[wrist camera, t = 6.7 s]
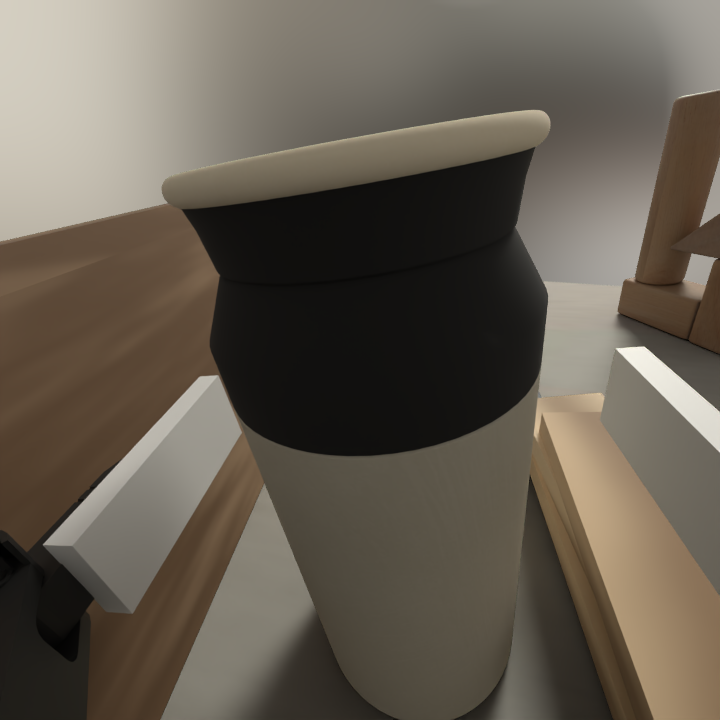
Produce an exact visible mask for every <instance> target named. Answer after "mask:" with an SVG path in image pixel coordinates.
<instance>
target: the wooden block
mask: <svg viewBox="0 0 720 720" xmlns="http://www.w3.org/2000/svg"><path fill="white" fill-rule="evenodd" d="M719 157H720V89H719V90H714V91H708V92H703V93H698V94H693V95H687V96H682V97H679V98H677V99H676V100H675V102H674V104H673V108H672V113H671V117H670V121H669V126H668V130H667V135H666V139H665V144H664V149H663V153H662V158H661V162H660V166H659V171H658V176H657V180H656V185H655V189H654V194H653V198H652V203H651V207H650V211H649V216H648V220H647V225H646V229H645V234H644V238H643V243H642V247H641V252H640V256H639V261H638V265H637V270H636V274H635V277H634V278H629V279H626V280H625V281H624V282H623V287H622V292H621V296H620V301H619V306H618V312H619V313H620V314H623V315H625V316H628V317H630V318H633V319H635V320H638V321H640V322H643V323H645V324H648V325H650V326H653V327H655V328H658V329H660V330H663V331H665V332H668V333H670V334H673V335H675V336H677V337H680V338H682V339H689V341H690V342H691V343H693V344H696V345H698V346H701V347H703V348H706V349H708V350H711V351H713V352H716V353H718V354H720V214H718V215H717V216H716V217H714V218H713V219H711V220H710V221H708V222H707V223H705V224H704V225H702V226H701V227H699V226H700V222H701V219H702V216H703V212H704V209H705V206H706V202H707V198H708V195H709V192H710V188H711V185H712V182H713V178H714V175H715V171H716V168H717V164H718V161H719ZM692 253H693V254H698V255H704V256H709V257H714V258H718V259H716V260H715V262H714V263H713V266H712V269H711V273H710V275H709V279H708V281H707V285H706V286H704V285H701V284H697V283H693V282H689V281H685V280H683V279H684V277H685V274H686V271H687V267H688V263H689V260H690V257H691V254H692Z"/></svg>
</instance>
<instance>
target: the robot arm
mask: <svg viewBox="0 0 720 720" xmlns="http://www.w3.org/2000/svg"><path fill="white" fill-rule="evenodd" d="M600 421H601V423H602V424H603V426H604V427H605V429H606V430H607V432H608V433H609V434H610V436H611V437H612V439H613V440H614V442H615V443H616V445H617V446H618V448H619V449H620V451H621V452H622V454H623V455H624V456H625V458H626V459H627V461H628V462H629V464H630V465H631V467H632V468H633V470H634V471H635V473H636V474H637V476H638V477H639V479H640V480H641V481H642V483H643V484H644V486H645V487H646V489H647V490H648V492H649V493H650V495H651V496H652V498H653V499H654V501H655V502H656V503H657V505H658V506H659V508H660V509H661V511H662V512H663V514H664V515H665V517H666V518H667V520H668V521H669V523H670V524H671V525H672V527H673V528H674V530H675V531H676V533H677V534H678V536H679V537H680V539H681V540H682V542H683V543H684V545H685V546H686V548H687V549H688V550H689V552H690V553H691V555H692V556H693V558H694V559H695V561H696V562H697V564H698V565H699V567H700V568H701V570H702V571H703V572H704V574H705V575H706V577H707V578H708V580H709V581H710V583H711V584H712V586H713V587H714V589H715V590H716V592H717V593H718V595H719V596H720V412H719V411H718V410H717V409H716V408H715V407H714V406H712V405H711V404H710V403H709V402H708V401H707V400H706V399H704V398H703V397H702V396H701V395H700V394H699V393H697V392H696V391H695V390H694V389H693V388H692V387H690V386H689V385H688V384H687V383H686V382H685V381H684V380H682V379H681V378H680V377H679V376H678V375H677V374H675V373H674V372H673V371H672V370H671V369H670V368H669V367H667V366H666V365H665V364H664V363H663V362H662V361H660V360H659V359H658V358H657V357H656V356H655V355H654V354H652V353H651V352H650V351H649V350H648V349H647V348H645V347H629V348H615V353H614V357H613V362H612V366H611V371H610V376H609V380H608V385H607V389H606V394H605V398H604V403H603V408H602V412H601V417H600ZM241 433H242V432H241V429H240V427H239V424H238V422H237V419H236V417H235V414H234V412H233V410H232V407H231V405H230V402H229V400H228V397H227V395H226V393H225V390H224V388H223V385H222V383H221V380H220V378H219V376H218V375H215V376H200V377H199V378H198V379H197V380H196V381H195V382H194V383H193V384H192V385H191V386H190V387H189V389H188V390H187V391H186V392H185V393H184V394H183V395H182V396H181V397H180V398H179V399H178V400H177V401H176V402H175V404H174V405H173V406H172V407H171V408H170V409H169V410H168V411H167V412H166V413H165V414H164V415H163V416H162V418H161V419H160V420H159V421H158V422H157V423H156V424H155V425H154V426H153V427H152V428H151V429H150V430H149V431H148V433H147V434H146V435H145V436H144V437H143V438H142V439H141V440H140V441H139V442H138V443H137V444H136V445H135V446H134V448H133V449H132V450H131V451H130V452H129V453H128V454H127V455H126V456H125V457H124V458H123V459H121V460H120V461H118V462H117V463H115V464H114V465H113V466H111V467H110V468H109V469H107V470H106V471H104V472H103V473H102V474H101V475H100V476H99V477H98V478H97V480H96V481H95V482H94V483H93V484H92V485H91V486H90V489H89V490H86V491H85V492H84V493H83V494H82V495H81V496H80V497H79V498H78V502H75V503H74V504H73V505H72V506H71V507H70V508H69V509H68V510H67V511H66V512H65V513H64V514H63V515H62V516H61V517H60V518H59V519H58V520H57V521H56V523H55V524H54V525H53V526H52V527H51V528H50V529H49V530H48V531H47V532H46V533H45V534H44V535H43V536H42V537H41V538H40V539H39V540H38V541H37V542H36V543H35V545H34V546H33V547H32V548H31V549H30V550H29V551H28V552H26V551H25V550H24V549H23V548H22V547H21V546H20V545H19V544H18V543H17V542H16V541H15V540H14V539H13V538H12V537H11V536H10V535H9V534H8V533H6V532H5V531H3V530H0V720H87V699H88V677H89V655H90V633H91V619H90V615H89V614H88V613H87V612H86V610H87V608H88V607H89V606H90V604H91V603H92V601H93V600H94V599H95V601H96V602H97V603H98V604H99V605H100V606H101V607H102V608H103V609H104V610H105V611H106V612H115V613H128V614H133V612H134V611H135V609H136V607H137V606H138V604H139V602H140V601H141V599H142V597H143V596H144V594H145V592H146V591H147V589H148V587H149V586H150V584H151V582H152V581H153V579H154V577H155V576H156V574H157V572H158V571H159V569H160V567H161V566H162V564H163V562H164V561H165V559H166V557H167V556H168V554H169V553H170V551H171V549H172V548H173V546H174V544H175V543H176V541H177V539H178V538H179V536H180V534H181V533H182V531H183V529H184V528H185V526H186V524H187V523H188V521H189V519H190V518H191V516H192V514H193V513H194V511H195V509H196V508H197V506H198V504H199V503H200V501H201V499H202V498H203V496H204V494H205V493H206V491H207V489H208V488H209V486H210V484H211V483H212V481H213V479H214V478H215V476H216V475H217V473H218V471H219V470H220V468H221V466H222V465H223V463H224V461H225V460H226V458H227V456H228V455H229V453H230V451H231V450H232V448H233V446H234V445H235V443H236V441H237V440H238V438H239V436H240V435H241Z"/></svg>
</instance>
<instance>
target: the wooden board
mask: <svg viewBox="0 0 720 720" xmlns="http://www.w3.org/2000/svg"><path fill="white" fill-rule="evenodd" d="M219 277H220V275H219V274H218V272H217V271H216V269H215V267H214V265H213V263H212V261H211V259H210V257H209V255H208V253H207V252H206V250H205V248H204V246H203V244H202V242H201V240H200V238H199V236H198V234H197V232H196V230H195V229H194V227H193V226H192V225H191V223H190V222H189V220H188V219H187V217H186V216H185V214H184V213H183V211H182V210H181V209H179V208H176V207H173V206H171V205H170V204H169V203H168V204H163V205H159V206H154V207H150V208H146V209H141V210H137V211H132V212H128V213H124V214H120V215H116V216H111V217H106V218H102V219H97V220H93V221H89V222H84V223H80V224H76V225H71V226H67V227H62V228H58V229H54V230H50V231H45V232H41V233H36V234H32V235H27V236H23V237H19V238H14V239H10V240H6V241H1V242H0V530H3V531H5V532H6V533H8V534H9V535H10V536H11V537H12V538H13V539H14V540H15V541H16V542H17V543H18V544H19V545H20V546H21V547H22V548H23V549H24V550H25V551H26V552H28V551H29V550H30V549H31V548H32V547H33V546H34V545H35V543H36V542H37V541H38V540H39V539H40V538H41V537H42V536H43V535H44V534H45V533H46V532H47V531H48V530H49V529H50V528H51V527H52V526H53V525H54V524H55V523H56V521H57V520H58V519H59V518H60V517H61V516H62V515H63V514H64V513H65V512H66V511H67V510H68V509H69V508H70V507H71V506H72V505H73V504H74V503H75V502H78V498H79V497H80V496H81V495H82V494H83V493H84V492H85V491H86V490H89V489H90V486H91V485H92V484H93V483H94V482H95V481H96V480H97V478H98V477H99V476H100V475H101V474H102V473H103V472H104V471H106V470H107V469H109V468H110V467H111V466H113V465H114V464H115V463H117V462H118V461H120V460H121V459H123V458H124V457H125V456H126V455H127V454H128V453H129V452H130V451H131V450H132V449H133V448H134V446H135V445H136V444H137V443H138V442H139V441H140V440H141V439H142V438H143V437H144V436H145V435H146V434H147V433H148V431H149V430H150V429H151V428H152V427H153V426H154V425H155V424H156V423H157V422H158V421H159V420H160V419H161V418H162V416H163V415H164V414H165V413H166V412H167V411H168V410H169V409H170V408H171V407H172V406H173V405H174V404H175V402H176V401H177V400H178V399H179V398H180V397H181V396H182V395H183V394H184V393H185V392H186V391H187V390H188V389H189V387H190V386H191V385H192V384H193V383H194V382H195V381H196V380H197V379H198V378H199V377H200V376H215V375H218V376H219V378H220V380H221V383H222V385H223V388H224V390H225V393H226V395H227V397H228V400H229V402H230V405H231V407H232V410H233V412H234V414H235V417H236V419H237V422H238V424H239V427H240V429H241V432H242V433H241V435H240V436H239V438H238V440H237V441H236V443H235V445H234V446H233V448H232V450H231V451H230V453H229V455H228V456H227V458H226V460H225V461H224V463H223V465H222V466H221V468H220V470H219V471H218V473H217V475H216V476H215V478H214V479H213V481H212V483H211V484H210V486H209V488H208V489H207V491H206V493H205V494H204V496H203V498H202V499H201V501H200V503H199V504H198V506H197V508H196V509H195V511H194V513H193V514H192V516H191V518H190V519H189V521H188V523H187V524H186V526H185V528H184V529H183V531H182V533H181V534H180V536H179V538H178V539H177V541H176V543H175V544H174V546H173V548H172V549H171V551H170V553H169V554H168V556H167V557H166V559H165V561H164V562H163V564H162V566H161V567H160V569H159V571H158V572H157V574H156V576H155V577H154V579H153V581H152V582H151V584H150V586H149V587H148V589H147V591H146V592H145V594H144V596H143V597H142V599H141V601H140V602H139V604H138V606H137V607H136V609H135V611H134V612H133V614H128V613H115V612H106V611H105V610H104V609H103V608H102V607H101V606H100V605H99V604H98V603H97V602H96V601H95V599H94V600H93V601H92V603H91V604H90V606H89V607H88V608H87V610H86V612H87V613H88V614H89V615H90V619H91V633H90V655H89V677H88V699H87V720H160V719H161V716H162V714H163V712H164V709H165V707H166V705H167V703H168V700H169V698H170V696H171V694H172V691H173V689H174V687H175V684H176V682H177V680H178V678H179V675H180V673H181V671H182V669H183V666H184V664H185V662H186V659H187V657H188V655H189V653H190V650H191V648H192V646H193V644H194V641H195V639H196V637H197V634H198V632H199V630H200V628H201V625H202V623H203V621H204V619H205V616H206V614H207V612H208V609H209V607H210V605H211V603H212V600H213V598H214V596H215V594H216V591H217V589H218V587H219V584H220V582H221V580H222V578H223V575H224V573H225V571H226V569H227V566H228V564H229V562H230V559H231V557H232V555H233V553H234V550H235V548H236V546H237V544H238V541H239V539H240V537H241V534H242V532H243V530H244V528H245V525H246V523H247V521H248V519H249V516H250V514H251V512H252V509H253V507H254V505H255V503H256V500H257V498H258V496H259V494H260V491H261V489H262V487H263V484H264V481H263V478H262V476H261V473H260V471H259V468H258V466H257V463H256V461H255V458H254V456H253V454H252V451H251V449H250V446H249V444H248V441H247V439H246V436H245V434H244V431H243V429H242V427H241V424H240V422H239V419H238V417H237V414H236V412H235V409H234V407H233V404H232V402H231V400H230V397H229V395H228V392H227V390H226V387H225V385H224V382H223V380H222V377H221V375H220V373H219V370H218V368H217V365H216V363H215V360H214V358H213V355H212V353H211V350H210V334H211V327H212V321H213V315H214V308H215V302H216V296H217V289H218V283H219Z"/></svg>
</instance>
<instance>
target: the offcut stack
mask: <svg viewBox="0 0 720 720" xmlns="http://www.w3.org/2000/svg"><path fill="white" fill-rule="evenodd" d="M604 398H605V397H604V396H603V395H602V394H601V393H592V394H580V395H568V396H556V397H545V398H538V400H537V409H536V419H535V428H534V437H533V447H532V456H531V466H530V476H531V479H532V481H533V484H534V487H535V490H536V493H537V496H538V499H539V502H540V505H541V508H542V511H543V514H544V517H545V520H546V523H547V526H548V529H549V532H550V535H551V537H552V540H553V543H554V546H555V549H556V552H557V555H558V558H559V561H560V564H561V567H562V570H563V573H564V576H565V579H566V582H567V585H568V588H569V591H570V594H571V596H572V599H573V602H574V605H575V608H576V611H577V614H578V617H579V620H580V623H581V626H582V629H583V632H584V635H585V638H586V641H587V644H588V647H589V650H590V653H591V655H592V658H593V661H594V664H595V667H596V670H597V673H598V676H599V679H600V682H601V685H602V688H603V691H604V694H605V697H606V700H607V703H608V706H609V709H610V712H611V714H612V717H613V720H720V596H719V595H718V593H717V592H716V590H715V589H714V587H713V586H712V584H711V583H710V581H709V580H708V578H707V577H706V575H705V574H704V572H703V571H702V570H701V568H700V567H699V565H698V564H697V562H696V561H695V559H694V558H693V556H692V555H691V553H690V552H689V550H688V549H687V548H686V546H685V545H684V543H683V542H682V540H681V539H680V537H679V536H678V534H677V533H676V531H675V530H674V528H673V527H672V525H671V524H670V523H669V521H668V520H667V518H666V517H665V515H664V514H663V512H662V511H661V509H660V508H659V506H658V505H657V503H656V502H655V501H654V499H653V498H652V496H651V495H650V493H649V492H648V490H647V489H646V487H645V486H644V484H643V483H642V481H641V480H640V479H639V477H638V476H637V474H636V473H635V471H634V470H633V468H632V467H631V465H630V464H629V462H628V461H627V459H626V458H625V456H624V455H623V454H622V452H621V451H620V449H619V448H618V446H617V445H616V443H615V442H614V440H613V439H612V437H611V436H610V434H609V433H608V432H607V430H606V429H605V427H604V426H603V424H602V423H601V421H600V417H601V412H602V408H603V403H604Z"/></svg>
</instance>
